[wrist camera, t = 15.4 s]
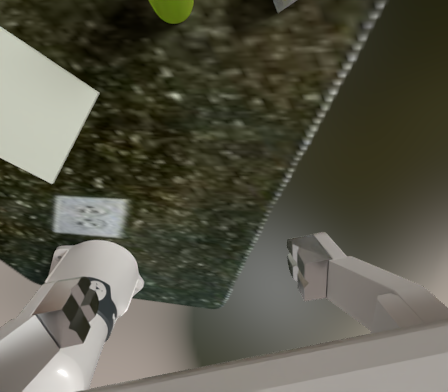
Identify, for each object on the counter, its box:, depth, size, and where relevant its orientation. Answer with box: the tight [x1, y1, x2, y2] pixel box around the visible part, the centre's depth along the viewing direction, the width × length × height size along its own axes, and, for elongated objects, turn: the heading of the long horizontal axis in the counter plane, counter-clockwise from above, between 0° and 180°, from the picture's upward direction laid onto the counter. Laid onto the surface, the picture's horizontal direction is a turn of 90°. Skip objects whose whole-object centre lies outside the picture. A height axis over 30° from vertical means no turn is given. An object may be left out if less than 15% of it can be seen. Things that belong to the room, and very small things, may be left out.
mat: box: [0, 27, 99, 184], centre depth 36 cm, size 18×18×1 cm
